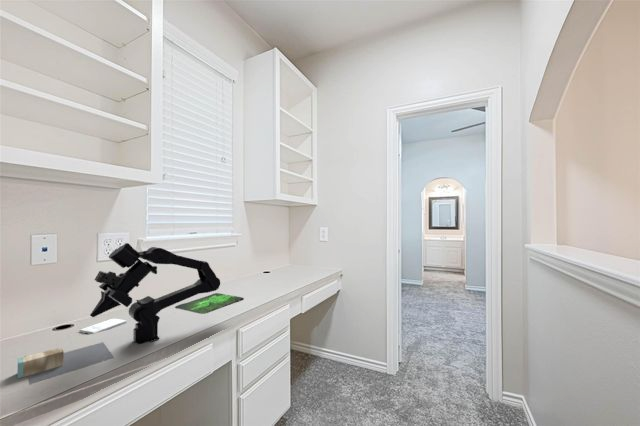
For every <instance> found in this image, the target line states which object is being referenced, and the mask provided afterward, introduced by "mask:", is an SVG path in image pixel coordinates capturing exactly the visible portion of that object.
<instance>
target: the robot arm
mask: <svg viewBox="0 0 640 426" xmlns="http://www.w3.org/2000/svg"><path fill="white" fill-rule="evenodd" d="M108 258H109V259H110V260H111V261H112V262H114V263H115V264H117V265H118V266H119V267H120V268H122V269H125V268H128V269H127V270H126V271H125V272H124V273H123V272H121V273H119V274H118V275H117V273H116V272H113V271H111V270H110V271H103V270H99V271H98V273H97V275H96V277H95V278H94V281H95V282H97V283H100V285H99V286H98V288H99V289H101V291H100V293H101V294H100V299H99V301H98V303H97V304H96V305H95V307H94V308H93V309H92V312H91V313H90V317H91V318H95V317H97V316H99V315H101V314H103V313H105V312H107V311H110V310H112V309H114V308H116V307H119V306H121V305H123V306H125V307H126V308H128V307H129V309H128V315H129V317H131V318H132V319H133V320H134V321H135V322H136V323H134V325H135V326H134V327H135V328H133V331H132V332H133V335H132V336H133V337H132V338H133V341H134V342H135V343H136V344H137V345H141V344H145V343H148V342H149V343H150V342H154V341H157V340H160V336H158V332H159V331H158V330H159V329H158V328H159V327H158V326H159V325H158V323H159V321H160V316H158V314H159V313H160V312H161V311H162V310H164V309H166V308H168V307H171V306H174V305H176V304H178V303H180V302H183V301H185V300H187V299H190V298H192V297H194V296H196V295H199V294H207V293H210V292H211V293H212V292H215V291H217V290H219V288H220V286H221V280H220V278H219V277H217V275H216V273H215V272H214V270H213V269H212V267H211V266H210V264H209V262H208V261H205V260H198V259H194V258H189V257H186V256H181V255H177V254H175V253H173V252H171V251H169V250H167V249H164V248H162V247H156V246H151V247H148V249H147V250H144V251H139V252H138V250H136V249H135V248H134V247H132V245H130V243H129V242H128V243H127V242H125V243H124V244H123V245H121V246H119V247H118V248H116V249H114V250H113V251H112V252H111V253H110V254H109V256H108ZM141 259H142V260H145V261H142V260H141ZM151 263H153V264H156V265H152V264H151ZM157 265H175V266H181V267H184V268H185V267H186V268H189V269H193V270H196V271H197V275H198V278H199V279H197V280H196V281H195V282H194V283H193V284H190V285H188V286H185V287H183V288H180V289H178V290H174V291H173V292H169V293H167V294H165V295H162V296H160V297H157V298H154V297H152V296H150V295H147V296H145V297H143V298H141V299H136V300H135V302H133V298H132V297H131V296H130V294H129V293H130V292H131V291H132V290H133V289H135V288H138V287H139V286H140V283H141V281H143V279H145V278H146V277H147V276H148V275H149V274H150V273H152V274H154V275H157V274H158V266H157Z"/></svg>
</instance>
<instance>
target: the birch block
mask: <svg viewBox="0 0 640 426" xmlns="http://www.w3.org/2000/svg"><path fill="white" fill-rule="evenodd" d="M64 353H65V351H64V349H63V347H57V348H53V349H51V350H45V351H41V352H38V353H33V354H30V355H26V356H23V357H19V358H17V373H16V375H17V379H21V378H24V377H29V375H32V374H35V373H38V372H42V371H45V370H49V369H52V368H55V367H59V366H62V365H63V354H64Z"/></svg>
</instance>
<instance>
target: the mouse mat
mask: <svg viewBox="0 0 640 426" xmlns="http://www.w3.org/2000/svg"><path fill="white" fill-rule="evenodd" d="M242 300H244V297H242V296H236V295H230V294H224V293H219V292H215V293H212V294H209V295H206V296H204V297H200V298H197V299H195V300H191V301H188V302H184V303H181V304H178V305H176V306H174V308H175V309H179V310H183V311H187V312H192V313H197V314H201V315H203V314H208V313H211V312H214V311H216V310H218V309H222V308H224V307H227V306H230V305H232V304H235V303H238V302H239V301H242Z"/></svg>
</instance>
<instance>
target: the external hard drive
mask: <svg viewBox="0 0 640 426" xmlns="http://www.w3.org/2000/svg"><path fill="white" fill-rule="evenodd" d="M127 322H128V321H127V320H125V319H120V318H110V319H108V320H104V321H102V322H98V323H96V324H92V325H90V326H87V327H84V328H80V329H79V330H78V331H79V333H82V334H88V335H93V334H96V333H100V332H104V331H108V330H112V329H113V328H116V327H119V326H121V325H124V324H127Z"/></svg>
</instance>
